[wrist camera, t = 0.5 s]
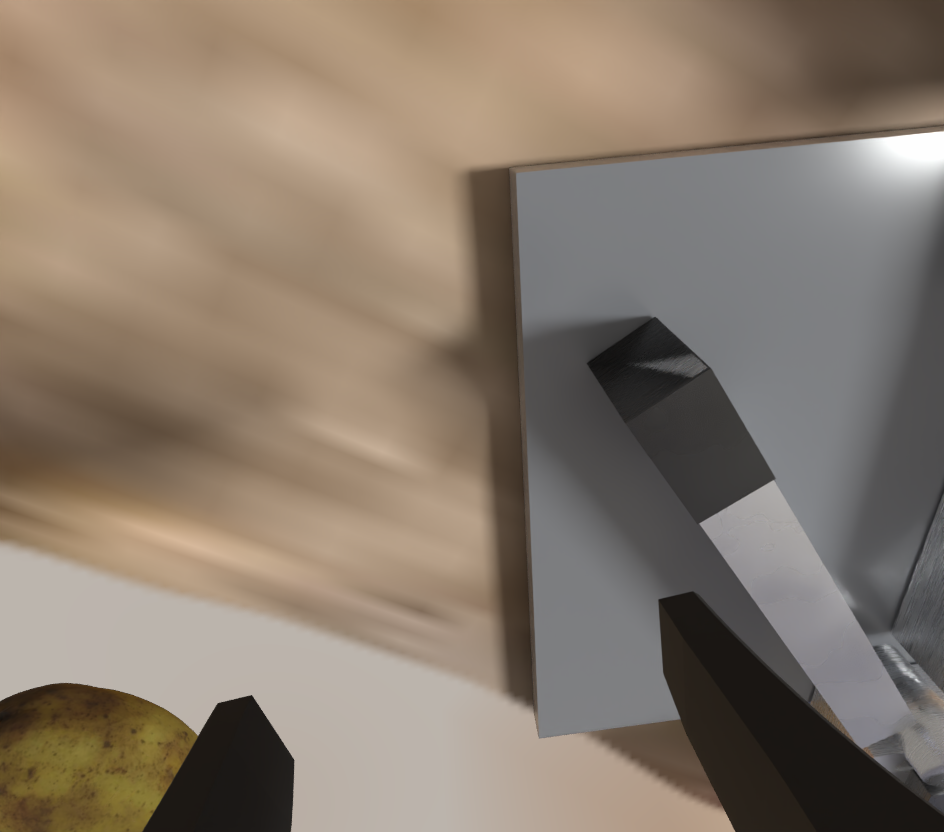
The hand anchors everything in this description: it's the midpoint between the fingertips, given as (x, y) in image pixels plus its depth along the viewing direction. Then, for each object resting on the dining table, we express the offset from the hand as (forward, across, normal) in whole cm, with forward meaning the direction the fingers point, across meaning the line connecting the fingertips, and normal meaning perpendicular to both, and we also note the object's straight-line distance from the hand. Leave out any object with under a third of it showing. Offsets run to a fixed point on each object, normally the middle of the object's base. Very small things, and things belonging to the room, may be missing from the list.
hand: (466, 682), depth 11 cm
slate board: (+10, -12, +6) cm, 16 cm away
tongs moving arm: (+8, -10, +7) cm, 14 cm away
